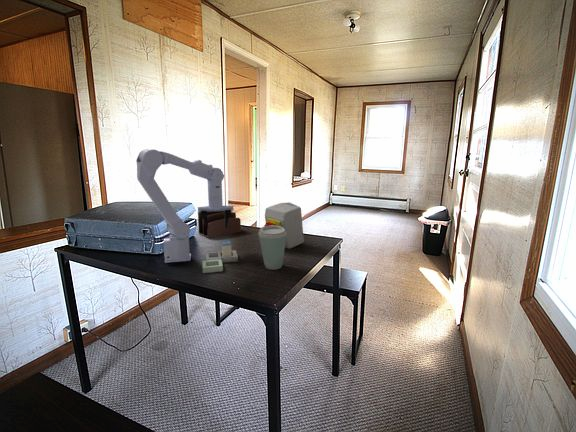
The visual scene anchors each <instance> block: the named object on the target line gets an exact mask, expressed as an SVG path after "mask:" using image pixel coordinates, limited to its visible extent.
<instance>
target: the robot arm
mask: <svg viewBox="0 0 576 432" xmlns="http://www.w3.org/2000/svg"><path fill="white" fill-rule="evenodd" d="M135 161H136V167H137V168H136V178H137V181H138V183H140V185H141V187H142V188H143V190H144V191H145V193H146V194H147V196H148V197H149V198H150V200H151V202H152V203H153V204H154V206H155V208H156V209H157V210H158V212H159V214H160V215H161V217H162V218H163V220H164V222H165V224H166V225H165V226H166V230H167V232H168V233H169V236H168V237H165V238H164V239H163V251H164V252H163V255H164V256H163V257H164V263H165V264H167V263H179V262H190V261H191V260H192V259H191V258H192V253H190V238H189V236H190V233H191V227H190V226H189V224H187V223H185V222H184V221H183V220H182V218H181V217H180V215H178V213H177V212H176V210H175V209H174V207H173V206H172V204H171V203H170V201H169V200H168V199H167V197H166V195H165V193H164V192H163V190H162V189H161V187H160V186H159V184H158V183H157V181H156V180H155V175H156V173H157V171H158V170H159V168H160V167H161V166H162V165H163V166H164V165H173V166H176V167H178V168H182V169H186V170H188V171H189V173H190V175H192V176H196V177H199V178H202V179H204V180H207V196H208V206H207V205H206V206H205V205H204V206H198V207H197V213H198V212H201V215H202V217H203V219H204V221H205V224H206V228H207V229H208V222H207V212H210V211H224V213H225V228H227V222H228V219H229V217H230V214H231V211H232V212H234V205H223V204H224V203H223V183H222V182H223V180H224V179H225V174H224V172H223V170H222V169H221V168H218V167H213V165H212V164H206V163H204V162H203V161H202V160H200V159H197V160H192V161H189V160H186V159H184V158H182V157H180V156H177V155H175V154H173V153H169V152H166V151H160V150H157V149H143V150H141V151H140V152H139V153H138V155H137V158H136V160H135ZM220 209H221V210H220Z"/></svg>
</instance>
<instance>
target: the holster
mask: <svg viewBox="0 0 576 432" xmlns="http://www.w3.org/2000/svg"><path fill="white" fill-rule="evenodd" d="M201 261H202V273H203V274H205V273H206V274H207V273H217V272H218V273H219V272H223V271H224V266H223V263H222V260H221V259H219V260H208V261H206V260H201Z"/></svg>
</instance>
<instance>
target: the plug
mask: <svg viewBox="0 0 576 432" xmlns="http://www.w3.org/2000/svg"><path fill="white" fill-rule="evenodd" d="M231 250H232V242H231V240H224V241H223V240H222V241H221V251H222V256H232V254H231Z"/></svg>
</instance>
